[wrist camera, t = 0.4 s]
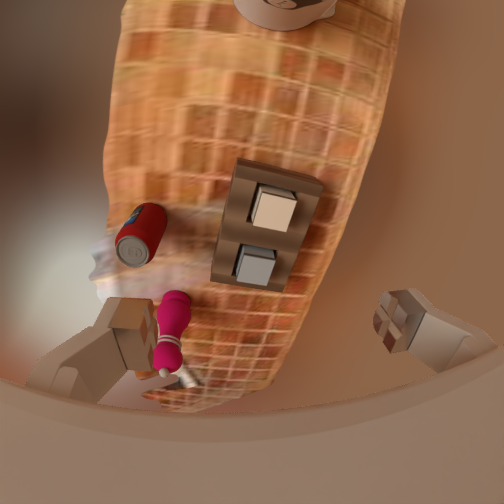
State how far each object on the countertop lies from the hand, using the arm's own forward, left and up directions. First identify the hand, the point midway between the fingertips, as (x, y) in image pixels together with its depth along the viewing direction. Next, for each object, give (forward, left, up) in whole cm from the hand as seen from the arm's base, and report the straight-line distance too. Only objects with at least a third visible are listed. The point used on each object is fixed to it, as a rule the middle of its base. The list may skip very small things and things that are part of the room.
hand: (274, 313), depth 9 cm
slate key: (+20, +8, -37) cm, 42 cm away
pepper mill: (+37, -5, -39) cm, 54 cm away
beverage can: (+18, -12, -39) cm, 45 cm away
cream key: (+9, +8, -37) cm, 39 cm away
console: (+15, +8, -39) cm, 42 cm away
